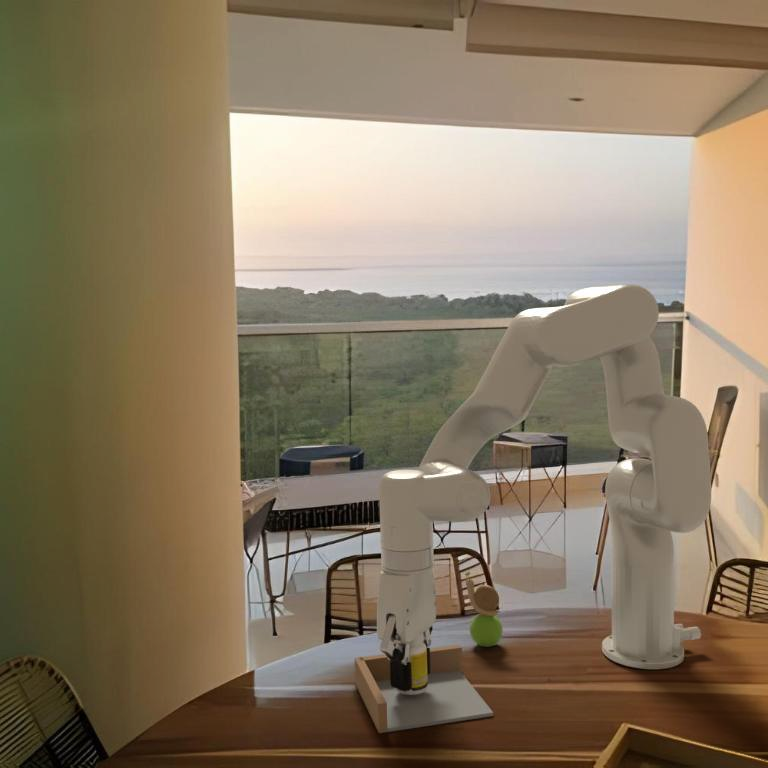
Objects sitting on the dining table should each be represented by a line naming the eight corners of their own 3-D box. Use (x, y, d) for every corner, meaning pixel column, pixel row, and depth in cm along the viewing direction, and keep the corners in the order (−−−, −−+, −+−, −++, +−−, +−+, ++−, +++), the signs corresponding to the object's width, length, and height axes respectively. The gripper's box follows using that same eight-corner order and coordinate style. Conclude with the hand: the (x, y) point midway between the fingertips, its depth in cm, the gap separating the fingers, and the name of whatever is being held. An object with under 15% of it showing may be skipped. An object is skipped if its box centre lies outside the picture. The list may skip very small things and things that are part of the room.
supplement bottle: (430, 682, 116) (428, 626, 116) (425, 696, 112) (423, 639, 111) (398, 680, 117) (396, 624, 117) (392, 694, 113) (390, 637, 112)
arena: (459, 669, 124) (459, 644, 123) (496, 715, 109) (496, 687, 109) (355, 683, 120) (354, 657, 119) (378, 733, 105) (378, 704, 105)
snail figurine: (475, 635, 137) (473, 567, 136) (508, 643, 133) (507, 573, 132) (459, 646, 132) (457, 576, 132) (493, 654, 129) (492, 582, 128)
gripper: (413, 539, 122) (416, 653, 124) (352, 570, 108) (357, 699, 109) (456, 545, 118) (459, 663, 120) (400, 578, 104) (404, 711, 105)
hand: (410, 679), depth 115 cm, fingers closed on supplement bottle, 4 cm apart
